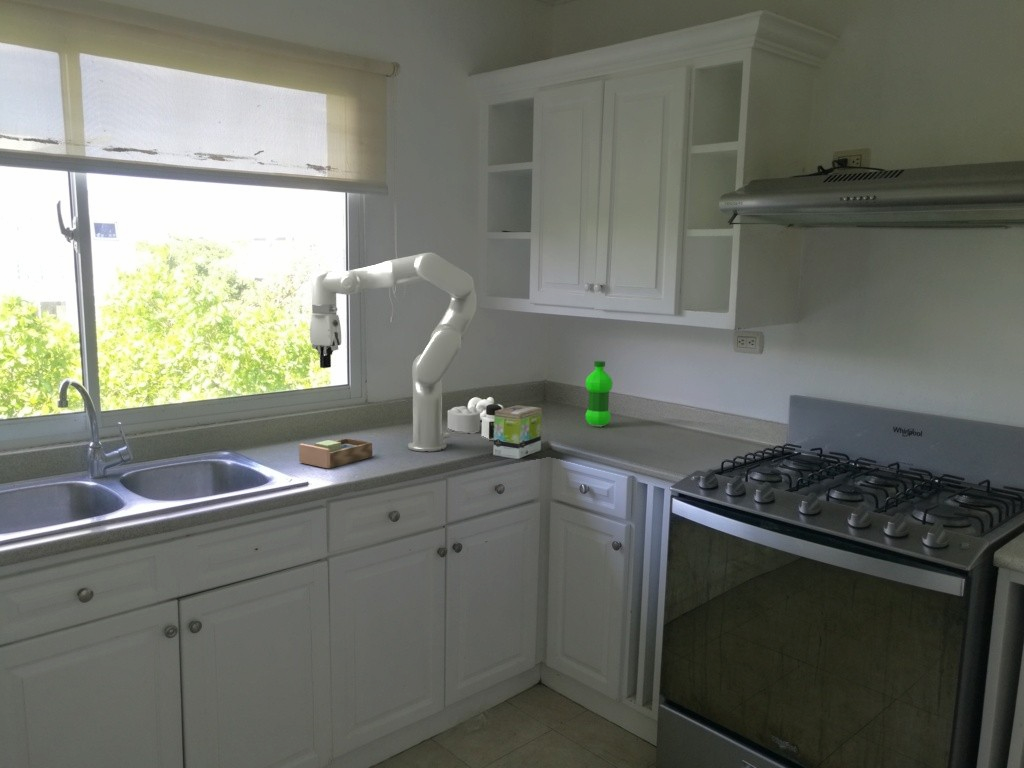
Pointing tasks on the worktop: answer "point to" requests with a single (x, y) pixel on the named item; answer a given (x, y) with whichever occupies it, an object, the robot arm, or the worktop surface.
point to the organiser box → (350, 452)
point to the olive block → (329, 445)
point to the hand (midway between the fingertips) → (325, 367)
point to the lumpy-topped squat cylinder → (464, 419)
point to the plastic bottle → (598, 395)
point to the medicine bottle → (489, 420)
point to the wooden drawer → (317, 455)
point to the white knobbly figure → (480, 405)
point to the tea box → (517, 431)
